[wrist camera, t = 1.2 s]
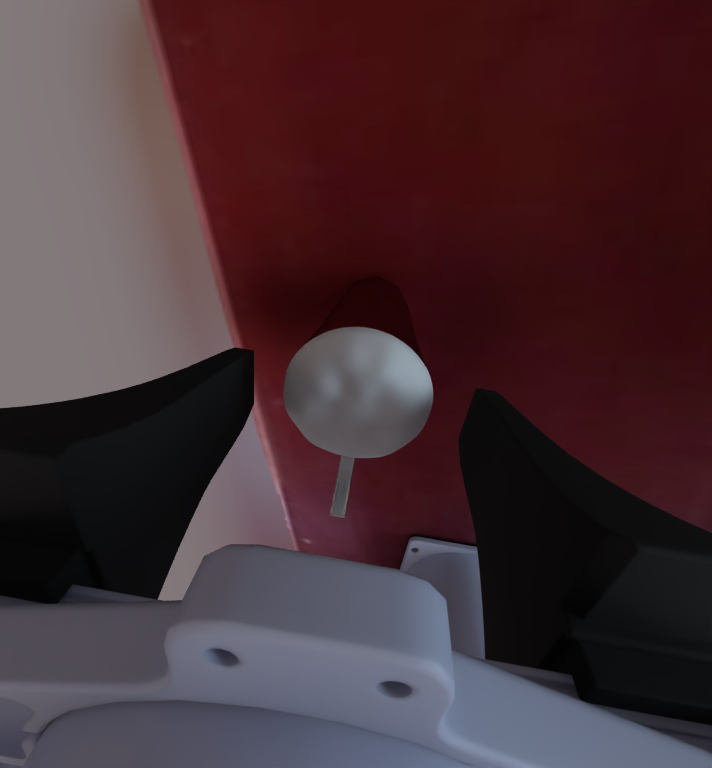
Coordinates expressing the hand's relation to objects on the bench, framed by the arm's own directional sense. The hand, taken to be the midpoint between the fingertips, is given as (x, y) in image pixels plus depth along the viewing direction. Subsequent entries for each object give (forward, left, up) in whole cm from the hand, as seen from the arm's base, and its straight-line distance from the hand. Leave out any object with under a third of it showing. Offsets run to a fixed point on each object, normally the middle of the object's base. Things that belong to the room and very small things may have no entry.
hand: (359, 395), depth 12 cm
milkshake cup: (0, 0, -8) cm, 8 cm away
